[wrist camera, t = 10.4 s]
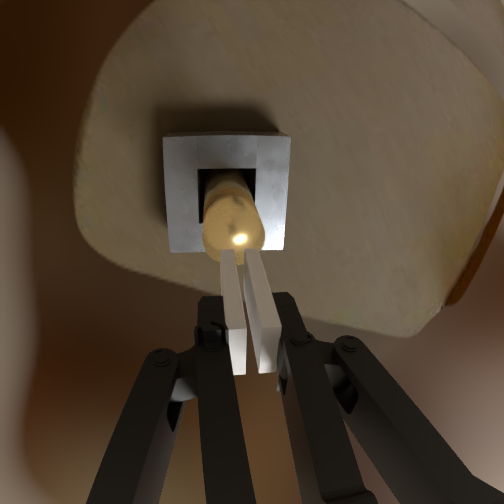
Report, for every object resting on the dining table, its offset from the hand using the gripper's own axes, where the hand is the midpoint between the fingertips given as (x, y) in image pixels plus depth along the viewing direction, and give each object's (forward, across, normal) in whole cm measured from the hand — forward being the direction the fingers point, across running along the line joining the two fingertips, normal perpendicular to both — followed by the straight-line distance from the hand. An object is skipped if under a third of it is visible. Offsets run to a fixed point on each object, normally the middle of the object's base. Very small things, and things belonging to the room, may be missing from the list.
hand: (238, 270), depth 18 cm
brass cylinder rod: (+18, 0, 0) cm, 18 cm away
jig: (+18, 0, 0) cm, 18 cm away
